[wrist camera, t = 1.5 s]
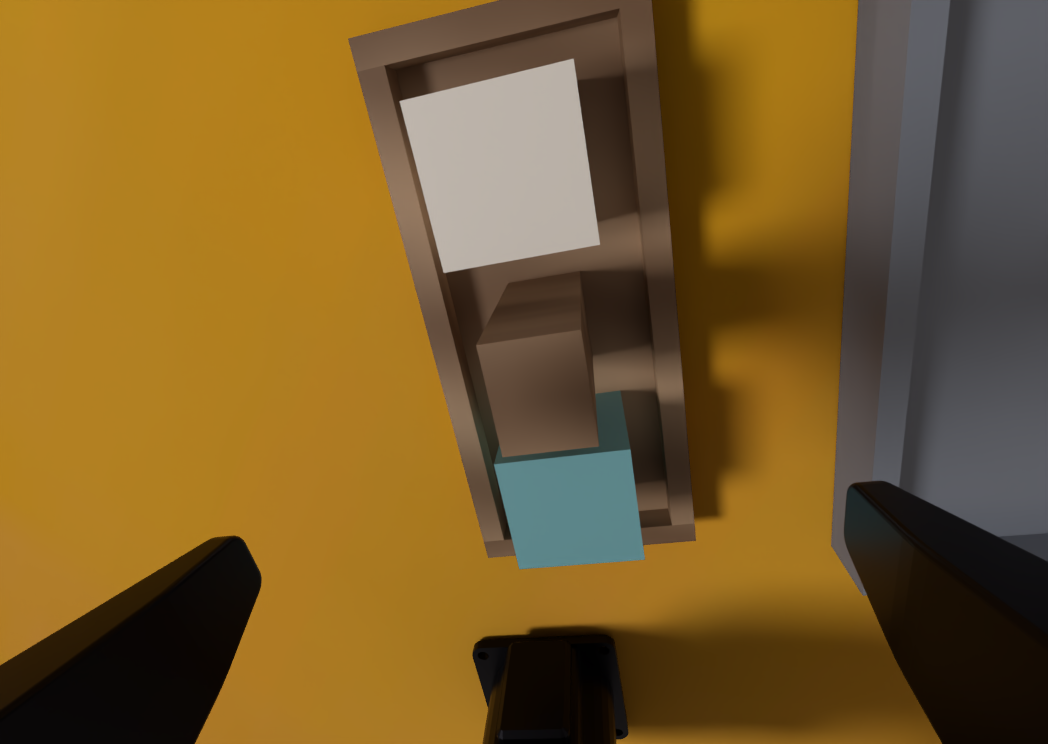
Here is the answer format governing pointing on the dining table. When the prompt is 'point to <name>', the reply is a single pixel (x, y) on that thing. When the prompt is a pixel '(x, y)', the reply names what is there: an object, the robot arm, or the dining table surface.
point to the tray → (948, 265)
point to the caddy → (549, 256)
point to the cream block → (504, 167)
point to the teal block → (575, 498)
